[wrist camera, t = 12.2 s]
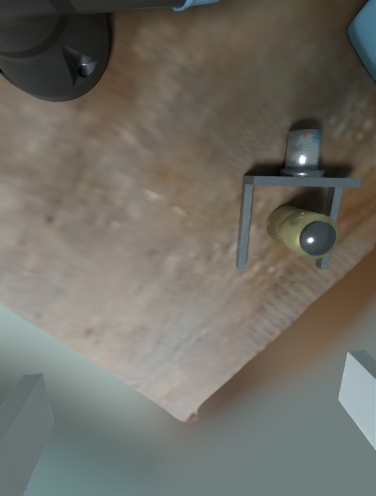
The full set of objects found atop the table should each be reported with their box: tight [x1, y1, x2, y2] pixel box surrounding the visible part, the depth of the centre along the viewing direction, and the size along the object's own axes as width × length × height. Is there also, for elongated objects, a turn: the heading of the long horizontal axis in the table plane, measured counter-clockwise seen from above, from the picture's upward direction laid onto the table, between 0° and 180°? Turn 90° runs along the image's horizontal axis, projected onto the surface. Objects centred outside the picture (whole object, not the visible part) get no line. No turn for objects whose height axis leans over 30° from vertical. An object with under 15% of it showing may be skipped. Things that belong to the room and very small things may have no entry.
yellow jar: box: [267, 206, 338, 260], centre depth 36 cm, size 6×6×10 cm
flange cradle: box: [236, 129, 361, 269], centre depth 37 cm, size 21×15×6 cm
